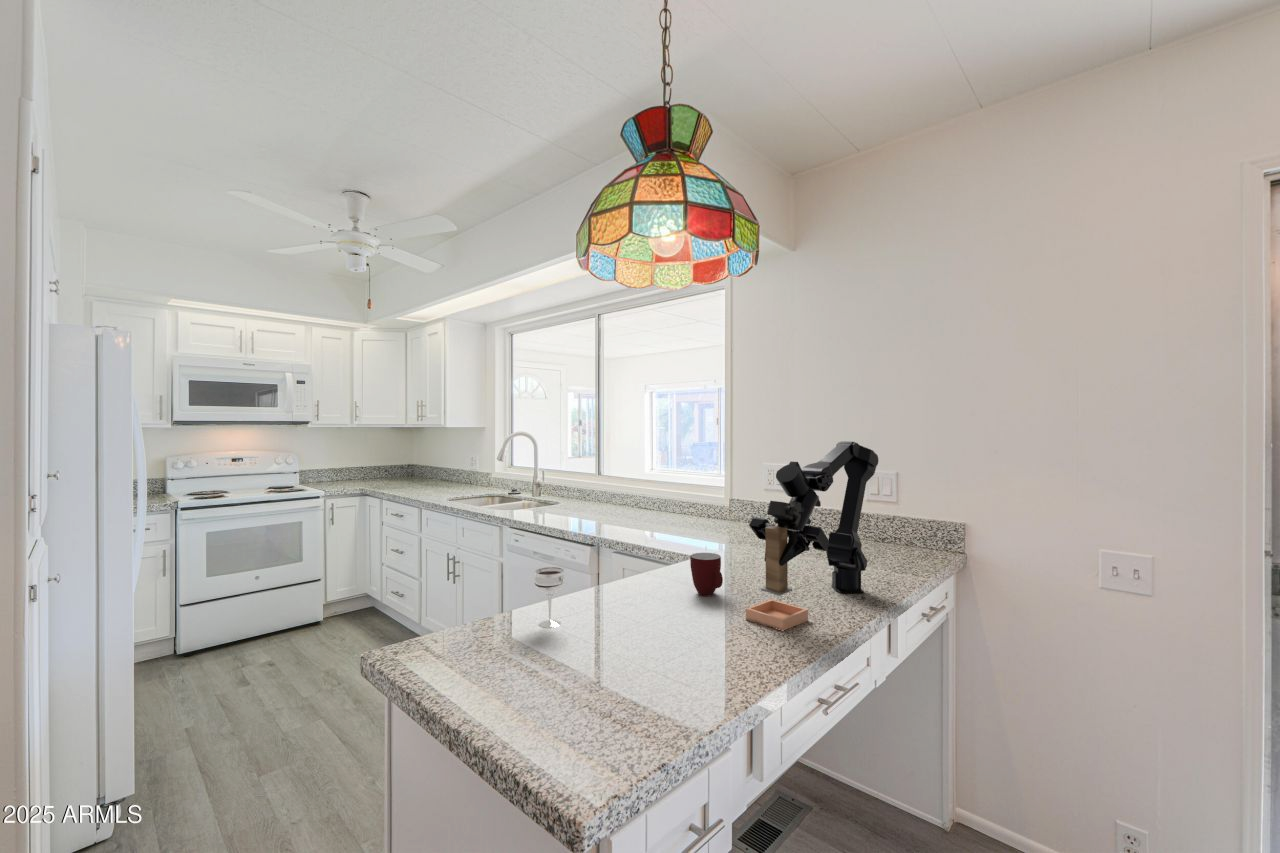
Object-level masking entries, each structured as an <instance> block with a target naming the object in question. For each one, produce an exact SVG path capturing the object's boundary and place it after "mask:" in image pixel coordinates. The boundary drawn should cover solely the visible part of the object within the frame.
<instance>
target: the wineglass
mask: <svg viewBox="0 0 1280 853" xmlns="http://www.w3.org/2000/svg"><path fill="white" fill-rule="evenodd" d="M534 573H535V577H534V585H535V587H536V589H537V590H538V591H539V592H540V593H542V594H544V595H546V596H547V603H548V605H547V606H548V619H546V620H542V621H540V622H539V623H538V626H539V627H541V628H545V629H548V628H549V629H551V628H556V627H559V626H561V624H562V622H561V621H559V620H557V619H552V617H551V616H552V597H553V596H554V594H556V593H558V592H559V591H560V590H562V588H563V587H564V584H565V575H564V573H565V569H564V568H562V567H555V566H552V567H551V566H549V567H541V568H538V569H536V570H534Z"/></svg>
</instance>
